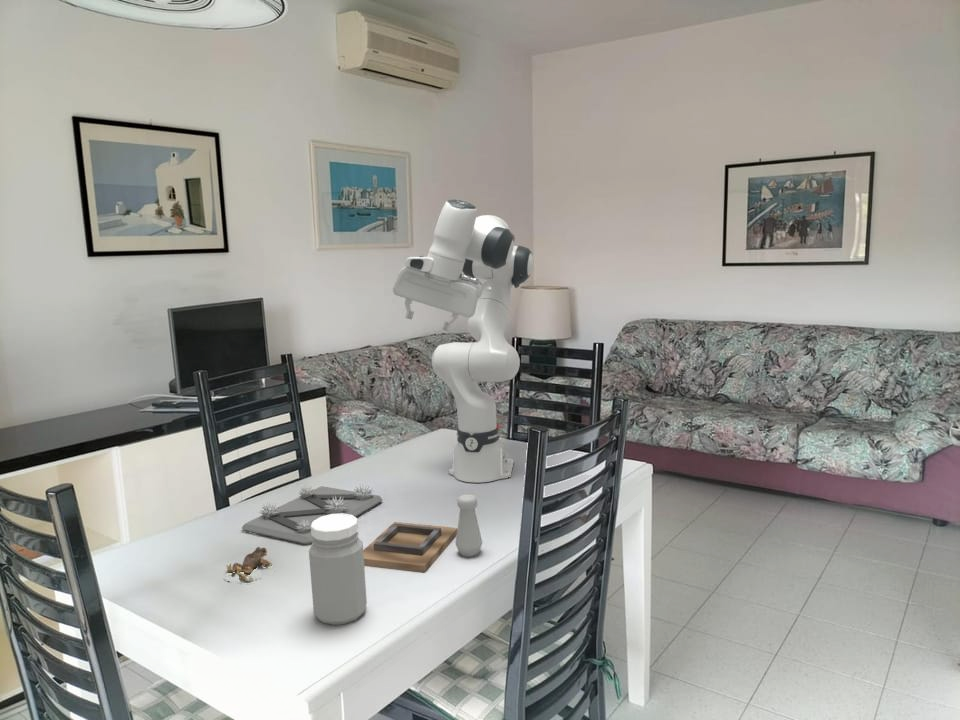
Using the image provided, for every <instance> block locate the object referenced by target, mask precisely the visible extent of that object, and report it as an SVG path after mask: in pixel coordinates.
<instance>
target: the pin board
mask: <svg viewBox="0 0 960 720" xmlns="http://www.w3.org/2000/svg"><path fill="white" fill-rule="evenodd" d="M457 529H458V527H453V526H451V527H450V526H441V525H432V524H431V525H430V524H421V523H411V522H401V521H394V522H393V523H391V524H390V525H389V526H388V527H387V528H386V529H385V530H384V531H383V532H381V534H380V535H378V536H377V537H376V538H375V539H374V540H373V541H372V542H371V543H370V544H368V545H367V546H366V547H365V548H363V554H364V566H366V567H367V566H369V567H375V568H376V567H377V568H384V569H394V570H401V571H407V572H408V571H409V572H415V573H417V572H418V573H426V572H427V571H428V570H429V568H430V567H431V566H432V565H433V563H434V562H435V561H436V560H437V559H438V557H440V556H441V554H442V553H443V552H444V551H445V549H446V548H447V547H448V546H449V545H450V544H451V542H452V541H453V540H454V539H456V536H457Z"/></svg>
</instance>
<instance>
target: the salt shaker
mask: <svg viewBox="0 0 960 720" xmlns="http://www.w3.org/2000/svg"><path fill="white" fill-rule="evenodd" d="M456 501H457V503H456V504H457V508H458V509H459V518H458V524H457V535H456V536H455V546H456V548H457V550H458V553H459V555H461V556H462V557H465V558H473V557H476V556H479V553H480V551H481V548H482V546H483V539H482V534H481V531H480V527H479V526H480V525H479V522H478V518H477V515H476V508H477V506H478V498H477V497H476V496H475V495H473V494H462V495H460V496H459V497H458V498H457V500H456Z"/></svg>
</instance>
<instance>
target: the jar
mask: <svg viewBox="0 0 960 720" xmlns="http://www.w3.org/2000/svg"><path fill="white" fill-rule="evenodd" d="M358 523H359V522H358V518H357V517H354V516H353V515H350V514H343V513H339V514H329V515H326V516H322V517H320V518H318V519H316V520H314V521H313V522H312V524H311V535H312V536H313V539H312V543H311V544H310V546H309V550H308V558H309V569H310V570H309V571H310V572H309V573H310V582H311V593H312V594H311V595H312V596H311V597H312V607H313V614H314V616H315V617H317V618H318V620H319V621H321V622H322V623H324V624H327V625H331V626H335V625H345V624H349V623H351V622H354V621H356V620H357V619H358V618H360V617H361V616H362V615H363V614H364V612H366V609H367V604H368V602H367V601H368V600H367V588H366V584H367V583H366V572H365V571H366V570H365V565H364V554H363V550H364V541H362V540H361V538H360V537H359V531H358V530H359V529H358V528H359V524H358Z"/></svg>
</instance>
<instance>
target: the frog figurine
mask: <svg viewBox="0 0 960 720" xmlns="http://www.w3.org/2000/svg"><path fill="white" fill-rule="evenodd" d="M267 553H268V550H267V548H266V547H260V546H257V547H256V548H255V549H254V550H253V552H251V553H248V554H247V555H245V557H244V559H243V562H242V564H240V563H238V562H234V563H233V565H232V563H229V565H225V566H226V569H227V572H226V573H233V572H235V571H236V575H238V576H239V580H240V581H239V582H241V583H240V584H242V583H251V582H254V581H257V580H260V581H262V580H261V579H263V578H261V577H257V578H258V579H256V578H254V579H255V580H253V577H252V576H248V575H250V574H251V573H252V572H253V570H254V569H256V568H257V566H260V564H263V565H262V566H263V567H267V568H266V569H269V568H268V567H270V566H272V565H273V563H272V562H269V561H268V560H265V559H264V557H266V556H267ZM240 572H244V574H241V573H240ZM233 574H234V573H233ZM225 580H227V579H223V581H225ZM263 580H264V579H263ZM257 582H258V581H257ZM228 583H231V582H230V581H229V582H228ZM254 583H255V582H254ZM251 584H252V583H251Z"/></svg>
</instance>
